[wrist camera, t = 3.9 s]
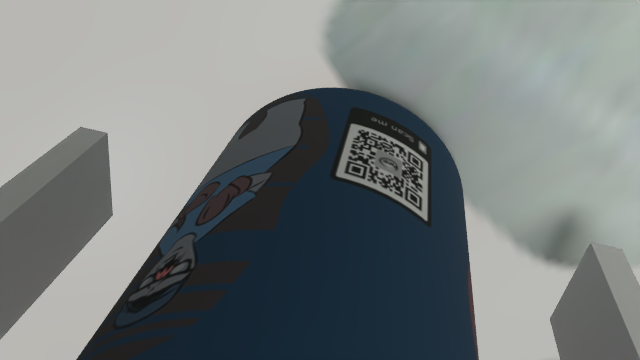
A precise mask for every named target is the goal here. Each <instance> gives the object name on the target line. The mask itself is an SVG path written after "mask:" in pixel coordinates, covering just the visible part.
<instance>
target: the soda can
mask: <svg viewBox="0 0 640 360" xmlns="http://www.w3.org/2000/svg"><path fill="white" fill-rule="evenodd" d="M77 360H479V359H478V348H477V337H476V326H475V316H474V305H473V294H472V284H471V273H470V262H469V252H468V241H467V231H466V220H465V209H464V199H463V189H462V184H461V179H460V176H459V173H458V170H457V167H456V165H455V162H454V160H453V158H452V156H451V154H450V153H449V151H448V149H447V148H446V146H445V145H444V143H443V142H442V141H441V139H440V138H439V137H438V136H437V135H436V133H435V132H434V131H433V130H432V129H431V128H430V127H429V126H428V125H427V124H426V123H425V122H423V121H422V120H421V119H420V118H419V117H417V116H416V115H415V114H413V113H412V112H410V111H409V110H407V109H406V108H404V107H402V106H400V105H399V104H397V103H395V102H393V101H390V100H388V99H386V98H383V97H381V96H378V95H375V94H372V93H368V92H364V91H360V90H354V89H347V88H317V89H310V90H304V91H300V92H296V93H293V94H290V95H286V96H284V97H282V98H279V99H277V100H275V101H273V102H271V103H269V104H267V105H266V106H264V107H263V108H261V109H260V110H258V111H257V112H256V113H254V114H253V115H252V116H251V117H250V118H249V119H248V120H246V121H245V123H244V124H243V125H242V126H241V127H240V128H239V130H238V131H237V132H236V133H235V135H234V136H233V138H232V139H231V141H230V142H229V143H228V145H227V146H226V148H225V149H224V151H223V152H222V153H221V155H220V156H219V158H218V159H217V161H216V162H215V163H214V165H213V166H212V168H211V169H210V171H209V172H208V173H207V175H206V176H205V178H204V179H203V181H202V182H201V183H200V185H199V186H198V187H197V189H196V190H195V192H194V193H193V195H192V196H191V198H190V199H189V200H188V202H187V203H186V205H185V206H184V208H183V209H182V211H181V212H180V213H179V215H178V216H177V217H176V219H175V220H174V222H173V223H172V224H171V226H170V227H169V229H168V230H167V232H166V233H165V235H164V236H163V237H162V239H161V240H160V242H159V243H158V244H157V246H156V247H155V249H154V250H153V251H152V253H151V254H150V256H149V257H148V259H147V260H146V261H145V263H144V264H143V266H142V267H141V269H140V270H139V271H138V273H137V274H136V276H135V277H134V278H133V280H132V281H131V283H130V284H129V286H128V287H127V288H126V290H125V291H124V293H123V294H122V296H121V297H120V299H119V300H118V301H117V303H116V304H115V305H114V307H113V308H112V310H111V311H110V313H109V314H108V316H107V317H106V318H105V320H104V321H103V323H102V324H101V325H100V327H99V328H98V330H97V331H96V332H95V334H94V335H93V337H92V338H91V340H90V341H89V342H88V344H87V345H86V347H85V348H84V350H83V351H82V352H81V354H80V355H79V357H78V358H77Z"/></svg>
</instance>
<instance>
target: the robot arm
mask: <svg viewBox="0 0 640 360" xmlns="http://www.w3.org/2000/svg"><path fill="white" fill-rule="evenodd" d="M112 215H113V213H112V198H111V184H110V167H109V152H108V136H107V133H105V132H100V131H96V130H92V129H87V128H83V127H80V128H79V129H78V130H76V131H75V132H73V133H72V134H71V135H70V136H68V137H67V138H66V139H64V140H63V141H62V142H60V143H59V144H57V145H56V146H55V147H54V148H52V149H51V150H49V151H48V152H47V153H46V154H44V155H43V156H42V157H40V158H39V159H38V160H36V161H35V162H34V163H32V164H31V165H30V166H28V167H27V168H26V169H24V170H23V171H22V172H20V173H19V174H18V175H16V176H15V177H14V178H12V179H11V180H10V181H8V182H7V183H6V184H4V185H3V186H2V187H1V188H0V339H1V338H2V337H3V336H4V335H5V334H6V333H7V332H8V330H9V329H10V328H11V327H12V326H13V325H14V324H15V323H16V322H17V320H18V319H19V318H20V317H21V316H22V315H23V314H24V313H25V312H26V310H27V309H28V308H29V307H30V306H31V305H32V304H33V303H34V302H35V300H36V299H37V298H38V297H39V296H40V295H41V294H42V293H43V292H44V291H45V289H46V288H47V287H48V286H49V285H50V284H51V283H52V282H53V281H54V279H55V278H56V277H57V276H58V275H59V274H60V273H61V272H62V271H63V270H64V268H65V267H66V266H67V265H68V264H69V263H70V262H71V261H72V259H73V258H74V257H75V256H76V255H77V254H78V253H79V252H80V251H81V250H82V248H83V247H84V246H85V245H86V244H87V243H88V242H89V241H90V240H91V238H92V237H93V236H94V235H95V234H96V233H97V232H98V231H99V229H101V227H102V226H103V225H104V224H105V223H106V222H107V221H108V220H109V219H110V217H111V216H112ZM550 321H551V325H552V329H553V333H554V336H555V340H556V344H557V348H558V352H559V356H560V360H640V286H639V284H638V282H637V280H636V278H635V276H634V274H633V272H632V270H631V267H630V265H629V263H628V261H627V259H626V257H625V255H624V253H623V251H622V249H618V248H613V247H609V246H604V245H600V244H596V243H590V245H589V247H588V249H587V251H586V252H585V254H584V256H583V258H582V260H581V262H580V264H579V266H578V267H577V269H576V271H575V273H574V275H573V277H572V279H571V281H570V282H569V284H568V286H567V288H566V290H565V292H564V294H563V296H562V297H561V299H560V301H559V303H558V305H557V307H556V309H555V311H554V312H553V314H552V316H551V318H550Z"/></svg>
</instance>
